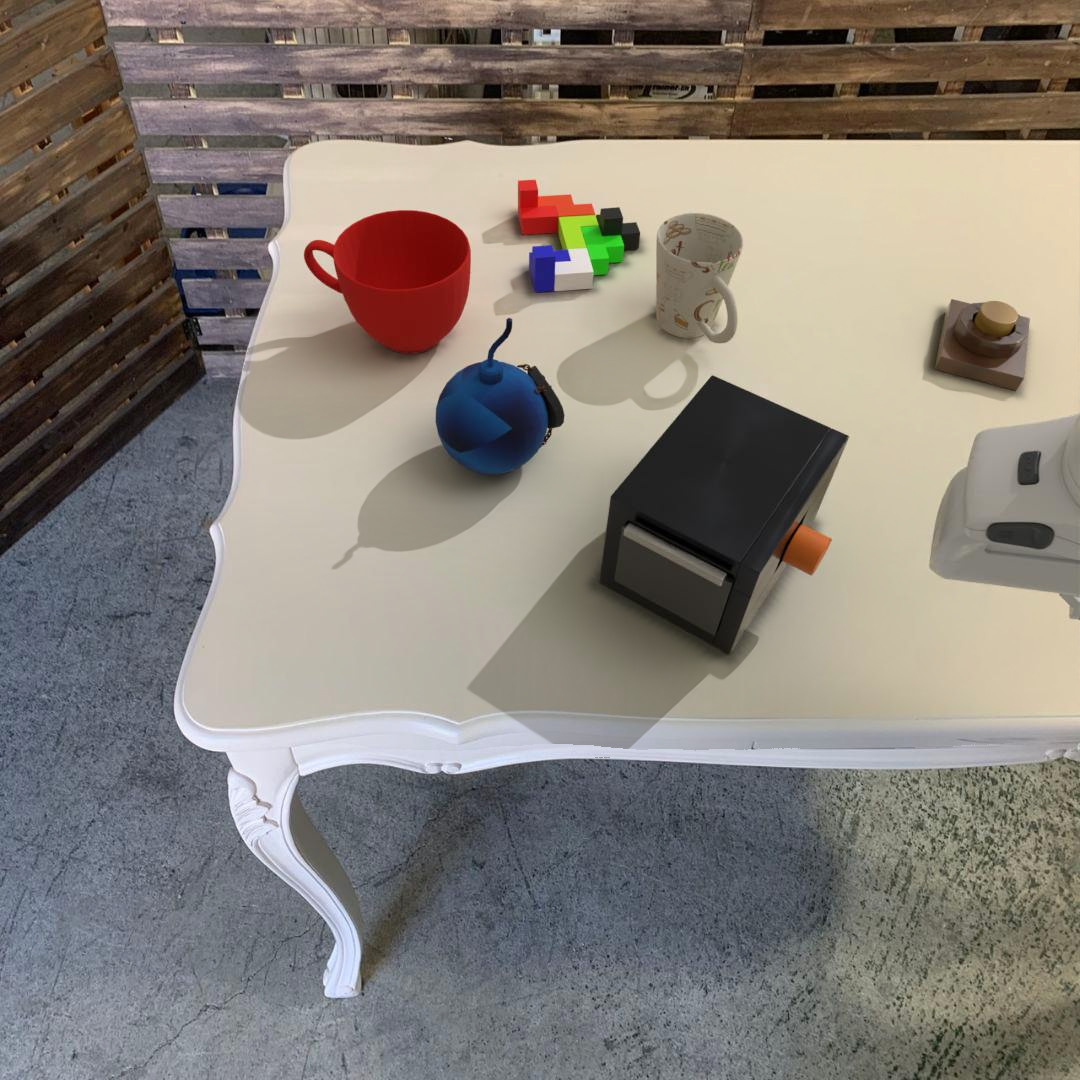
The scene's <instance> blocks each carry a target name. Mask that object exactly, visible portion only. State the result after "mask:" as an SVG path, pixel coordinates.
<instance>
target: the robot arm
mask: <svg viewBox="0 0 1080 1080" xmlns="http://www.w3.org/2000/svg"><path fill="white" fill-rule="evenodd" d="M928 564H929V565H928V567H929V569H930V570H931V572H933V573H934V574H936V575H937V576H938V577H939V578H941V579H944V580H949V581H958V582H966V583H973V584H974V583H975V584H981V585H988V586H989V585H990V586H996V587H997V586H999V587H1006V588H1014V589H1021V590H1030V591H1037V592H1044V593H1045V592H1047V593H1051V594H1052V593H1053V594H1058V595H1059V597H1061V599H1062V600H1064V601H1065V603H1067V604H1068V606H1069V611H1068V612H1069V613H1068V617H1069V619H1070V620H1078V621H1080V413H1076V414H1072V415H1068V416H1064V417H1063V416H1062V417H1060V418H1054V419H1050V420H1044V421H1037V422H1032V423H1025V424H1017V425H1008V426H1000V427H999V426H998V427H993V428H987V429H984V430H981V431H980V432H978V433H977V434H976V435H975V436H974V440H973V442H972V445H971V447H970V451H969V456H968V460H967V465H966V466H965V467H963V468H962V469H960V470H959V471H958V472H957V473H956V474H954V476H953V477H952V478H951V480H950V481H949V483H948V485H947V487H946V489H945V492H944V494H943V496H942V498H941V501H940V504H939V507H938V510H937V514H936V518H935V521H934V528H933V533H932V539H931V546H930V555H929V563H928Z"/></svg>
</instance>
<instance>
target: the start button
mask: <svg viewBox="0 0 1080 1080" xmlns="http://www.w3.org/2000/svg"><path fill="white" fill-rule="evenodd" d="M984 302H985V303H984V304H982V306H981V308H980V310H979V312H978V314H977V316H976V318H975V320H974V324H975V326H976V327H977V328H978V329H979V330H981V331H982V332H984V333H986V334H989V335H993V336H997V337H1002V336H1007V335H1008V334H1009V333H1010V332H1011V330H1012V328H1013V326H1014V325H1015V323H1016V321H1017V319H1018V314H1019V312H1018V311H1017V310H1016V309H1015V307H1013V306H1012V305H1010V304H1008V303H1006V302H1003V301H999V300H988V301H984Z"/></svg>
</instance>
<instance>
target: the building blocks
mask: <svg viewBox="0 0 1080 1080" xmlns="http://www.w3.org/2000/svg"><path fill="white" fill-rule="evenodd" d="M517 217H518V221H519V225H520V229H521V230H520V231H521V235H522V236H524V235H525V236H527V235H544V234H545V235H546V234H558V238H559V242H560V245H561V246H560V247H561V249H559V250H558V249H557V250H554V246H553V244H548V245H546V244H545V245H534V246H532V247H531V248H532V249H531V252H528V272H529V275H530V278H531V283H532V286H533V291H534V293H545V292H562V291H576V290H577V291H578V290H590V289H591V290H592V289H593V285H594V284H593V283H594V276H602V275H608V274H609V266H610V264H611V263H623V262H624V253H625V251H627V250H628V251H630V250H639V248H640V239H641V231H640V228H639V226H638V222H636V221H634V222H633V221H631V222H624V216H623V213H622V211H621V208H620V206H616V207H605V208H604V207H603V208H600V213H599V214H596V211H595V209H594V206H593V203H579V204H578V203H577V204H575V203H574V200H573V197H572V194H571V193H570V194H557V195H556V194H553V195H551V194H550V195H539V186H538V183H537V179H523V180H520V179H519V180H517Z"/></svg>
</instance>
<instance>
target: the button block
mask: <svg viewBox="0 0 1080 1080" xmlns="http://www.w3.org/2000/svg"><path fill="white" fill-rule="evenodd" d="M985 302H986V301H983V302H972V303H971V302H966V301H961V300H958V299H953V298H951V299H950V301H949V303H948V306H947V307H946V310H945V313H944V318H943V323H942V329H941V334H940V339H939V345H938V349H937V355H936V360H935V366H934V370H935V371H940V372H943V373H948V374H951V375H955V376H959V377H962V378H966V379H970V380H973V381H977V382H978V381H979V382H982V383H985V384H989V385H993V386H996V387H1001V388H1004V389H1008V390H1013V391H1016V392H1017V391H1018V390H1019V388H1020V385H1021V384H1022V382H1023V381H1024V379H1025V371H1026V361H1027V352H1028V351H1027V350H1028V344H1029V343H1028V342H1029V341H1028V340H1029V331H1030V322H1031V318H1030V317H1028V316H1022V315H1020V314H1019V313H1018V319H1017V321H1016V323H1015V325H1014V326H1013V328H1012V330H1011V332H1010V333H1009V334H1008V335H1007V336H1002V337H997V336H993V335H989V334H986V333H984V332H982V331H981V330H979V329H978V328H977V327H976V326H975V324H974V320H975V318H976V316H977V314H978V312H979V310H980V308H981V306H982V304H984V303H985Z"/></svg>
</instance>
